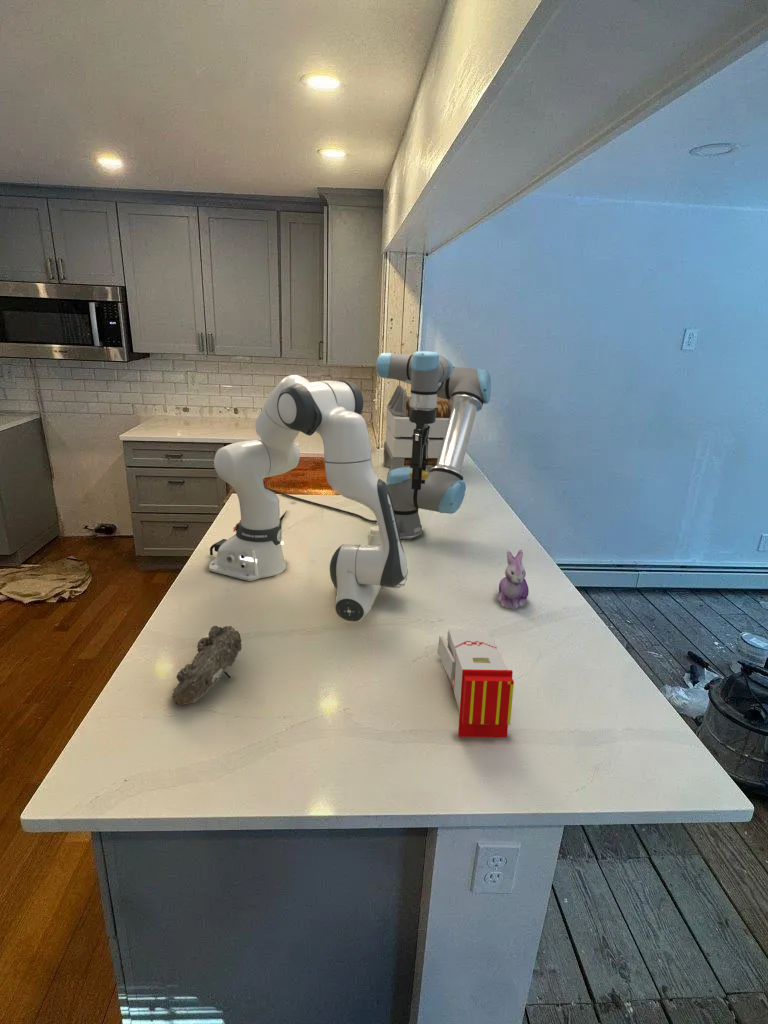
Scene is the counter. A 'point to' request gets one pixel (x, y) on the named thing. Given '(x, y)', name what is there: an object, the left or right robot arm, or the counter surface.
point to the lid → (424, 475)
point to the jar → (374, 536)
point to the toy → (478, 682)
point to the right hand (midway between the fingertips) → (418, 485)
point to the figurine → (513, 583)
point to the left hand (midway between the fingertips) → (376, 560)
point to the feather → (282, 516)
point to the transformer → (411, 431)
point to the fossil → (207, 664)
